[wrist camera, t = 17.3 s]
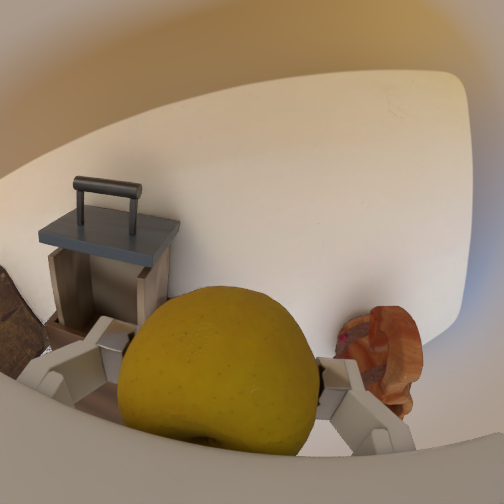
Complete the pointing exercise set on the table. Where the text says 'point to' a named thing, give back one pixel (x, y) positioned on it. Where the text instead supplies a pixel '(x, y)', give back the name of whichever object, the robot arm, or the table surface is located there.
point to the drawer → (108, 258)
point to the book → (18, 330)
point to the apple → (221, 374)
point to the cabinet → (103, 397)
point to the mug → (384, 354)
